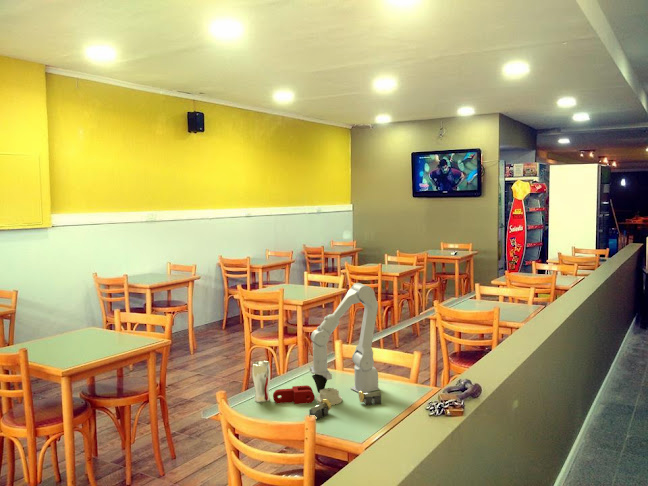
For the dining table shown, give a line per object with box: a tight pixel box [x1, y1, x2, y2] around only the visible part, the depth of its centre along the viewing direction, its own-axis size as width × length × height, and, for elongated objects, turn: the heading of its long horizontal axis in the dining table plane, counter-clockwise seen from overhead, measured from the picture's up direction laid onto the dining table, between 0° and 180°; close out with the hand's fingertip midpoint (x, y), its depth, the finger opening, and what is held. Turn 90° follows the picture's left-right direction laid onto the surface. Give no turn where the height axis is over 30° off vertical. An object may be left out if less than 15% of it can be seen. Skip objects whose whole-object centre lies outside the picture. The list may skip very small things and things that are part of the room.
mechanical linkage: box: [272, 385, 316, 405], centre depth 231 cm, size 16×7×5 cm, turn 99°
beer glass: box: [252, 360, 271, 403], centre depth 233 cm, size 7×7×15 cm
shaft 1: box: [308, 399, 332, 421], centre depth 215 cm, size 8×4×5 cm, turn 141°
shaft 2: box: [358, 391, 382, 406], centre depth 227 cm, size 8×4×5 cm, turn 101°
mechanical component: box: [316, 387, 343, 406], centre depth 231 cm, size 10×4×10 cm
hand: (320, 392), depth 237 cm, fingers closed
